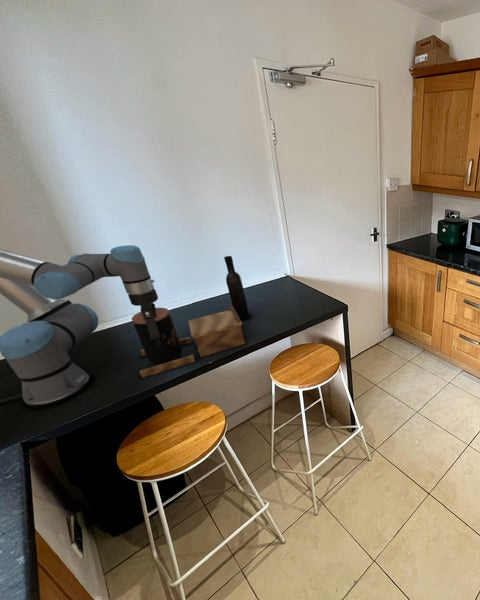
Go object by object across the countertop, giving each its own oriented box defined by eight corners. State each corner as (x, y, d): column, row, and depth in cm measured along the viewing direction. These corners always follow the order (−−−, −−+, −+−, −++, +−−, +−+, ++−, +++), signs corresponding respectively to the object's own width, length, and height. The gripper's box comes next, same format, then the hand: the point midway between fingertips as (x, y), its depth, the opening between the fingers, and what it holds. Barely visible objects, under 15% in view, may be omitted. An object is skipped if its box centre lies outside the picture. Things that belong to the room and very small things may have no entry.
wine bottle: (236, 321, 144) (219, 259, 130) (236, 316, 148) (220, 255, 135) (250, 319, 146) (235, 257, 133) (249, 313, 150) (235, 254, 137)
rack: (142, 378, 109) (128, 349, 104) (142, 355, 121) (130, 328, 115) (247, 345, 127) (240, 319, 122) (239, 328, 139) (232, 303, 133)
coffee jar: (166, 366, 113) (149, 323, 105) (141, 362, 115) (123, 319, 107) (189, 349, 122) (175, 309, 114) (166, 346, 124) (151, 305, 116)
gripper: (155, 300, 100) (176, 357, 110) (154, 278, 117) (172, 328, 127) (125, 307, 96) (149, 364, 106) (129, 282, 113) (149, 334, 123)
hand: (162, 345), depth 116 cm, fingers closed on coffee jar, 11 cm apart
